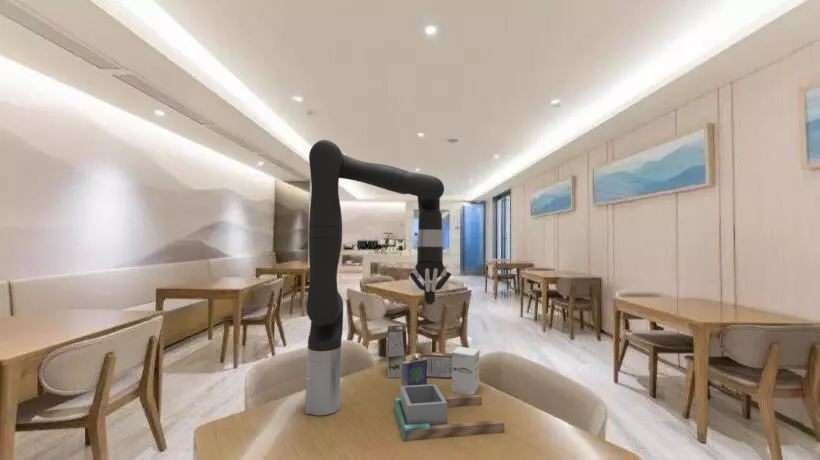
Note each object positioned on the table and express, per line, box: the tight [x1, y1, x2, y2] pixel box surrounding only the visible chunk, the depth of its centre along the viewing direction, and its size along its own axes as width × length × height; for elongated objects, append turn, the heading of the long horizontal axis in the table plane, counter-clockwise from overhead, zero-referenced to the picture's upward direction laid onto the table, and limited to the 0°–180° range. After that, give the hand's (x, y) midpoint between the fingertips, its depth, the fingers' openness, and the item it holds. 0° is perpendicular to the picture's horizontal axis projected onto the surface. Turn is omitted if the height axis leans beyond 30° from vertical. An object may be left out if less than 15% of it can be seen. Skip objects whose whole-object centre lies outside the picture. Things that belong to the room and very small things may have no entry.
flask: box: [401, 353, 428, 386], centre depth 115 cm, size 9×3×11 cm, turn 121°
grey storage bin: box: [399, 383, 448, 426], centre depth 93 cm, size 10×12×7 cm
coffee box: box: [386, 324, 407, 379], centre depth 128 cm, size 9×6×16 cm
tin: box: [417, 351, 452, 379], centre depth 124 cm, size 15×3×8 cm, turn 84°
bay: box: [393, 394, 505, 442], centre depth 94 cm, size 25×17×3 cm, turn 100°
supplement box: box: [451, 346, 480, 395], centre depth 114 cm, size 7×7×13 cm
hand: (429, 304), depth 104 cm, fingers closed
